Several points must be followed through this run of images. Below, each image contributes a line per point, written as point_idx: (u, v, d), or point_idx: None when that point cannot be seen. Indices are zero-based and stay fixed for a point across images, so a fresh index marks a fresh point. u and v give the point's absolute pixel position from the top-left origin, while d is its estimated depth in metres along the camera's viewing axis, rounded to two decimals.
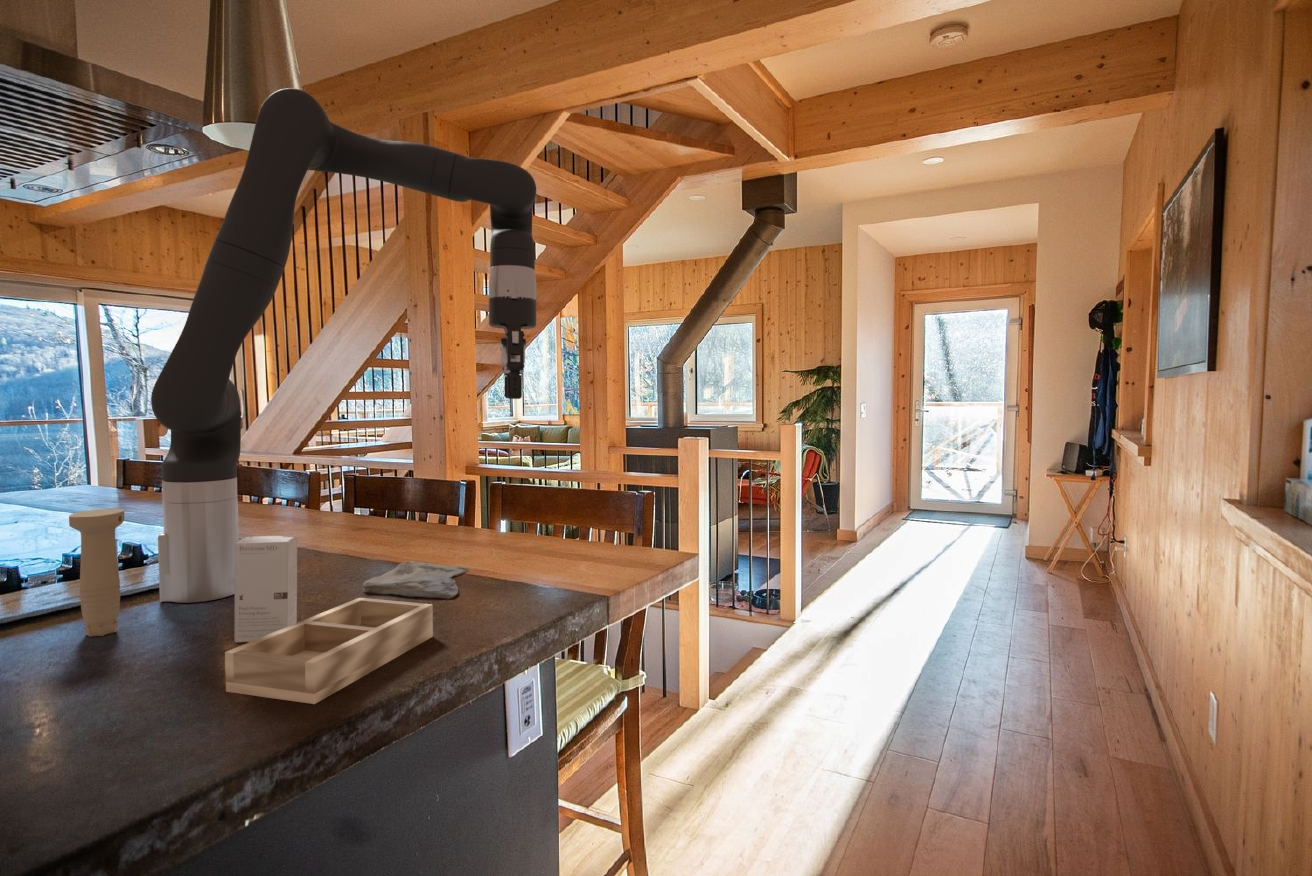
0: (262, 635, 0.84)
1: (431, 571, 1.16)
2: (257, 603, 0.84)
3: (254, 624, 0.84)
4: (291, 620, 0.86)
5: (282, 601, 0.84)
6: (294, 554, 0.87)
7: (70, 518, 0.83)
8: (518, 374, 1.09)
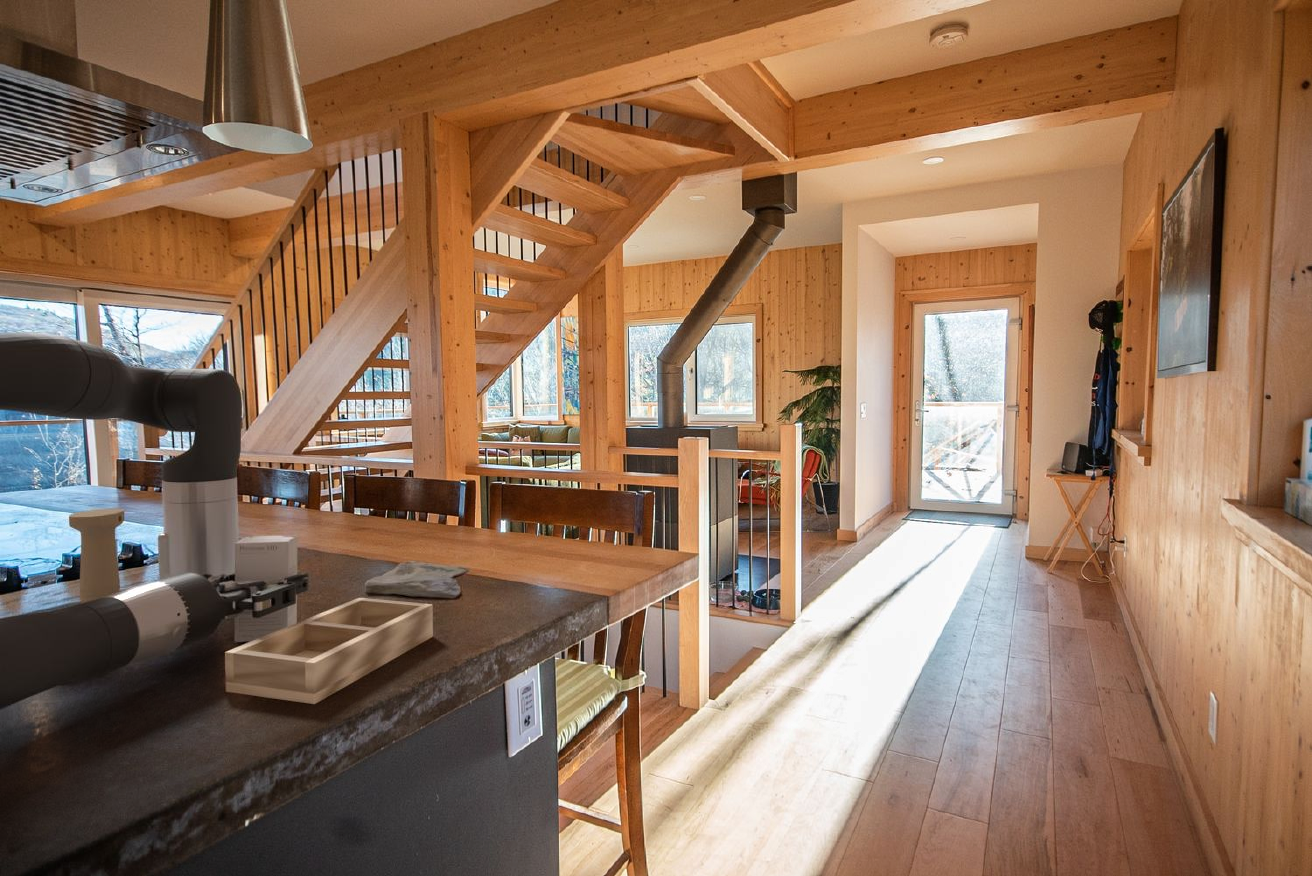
0: (262, 635, 0.84)
1: (432, 571, 1.16)
2: None
3: (254, 624, 0.84)
4: (291, 620, 0.86)
5: None
6: (294, 554, 0.87)
7: (70, 518, 0.83)
8: None
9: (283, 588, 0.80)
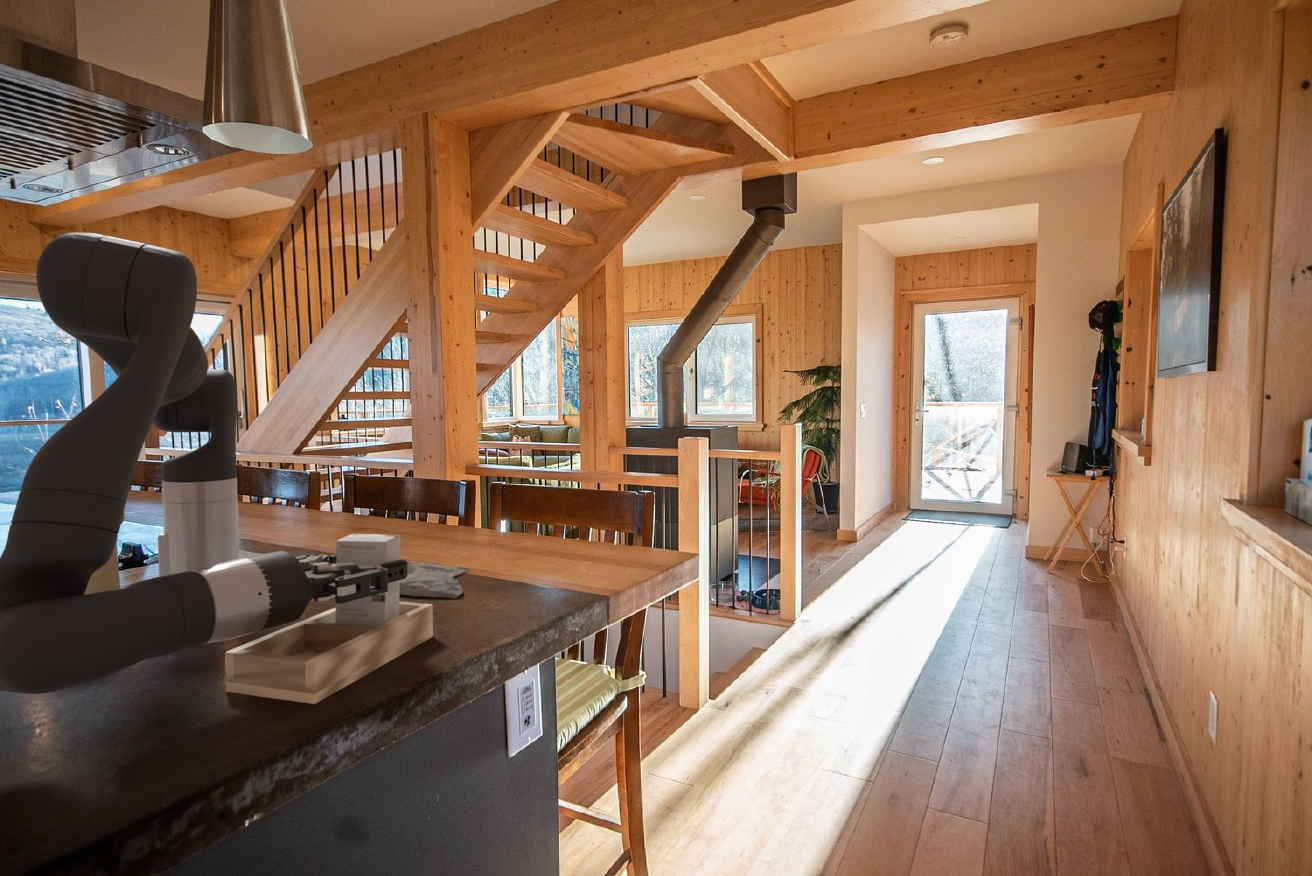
0: None
1: (432, 571, 1.16)
2: (356, 604, 0.80)
3: None
4: None
5: (380, 604, 0.80)
6: (395, 555, 0.82)
7: None
8: None
9: (371, 574, 0.75)
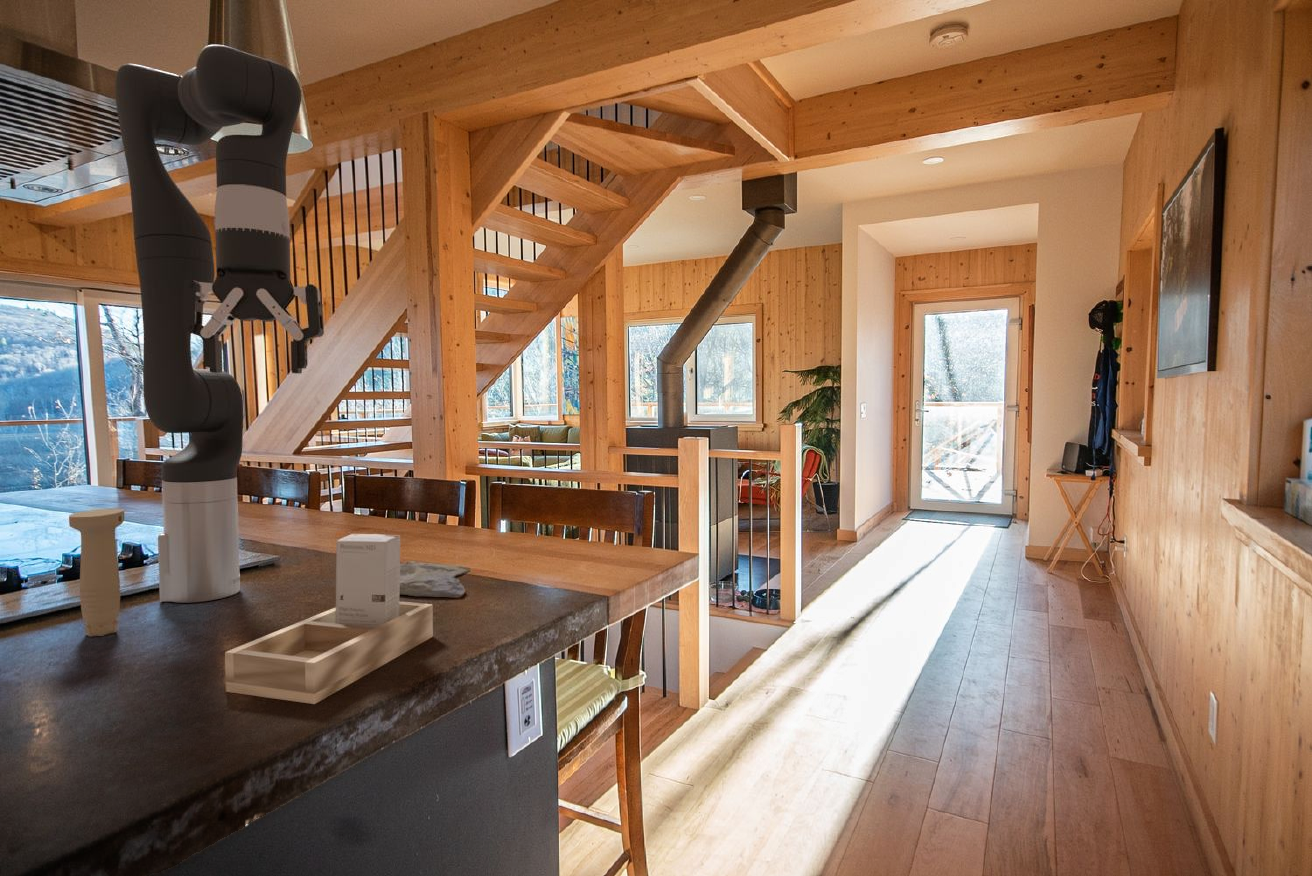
0: None
1: (433, 571, 1.16)
2: (356, 604, 0.80)
3: None
4: None
5: (380, 604, 0.80)
6: (395, 555, 0.82)
7: (70, 518, 0.83)
8: (202, 339, 0.80)
9: (322, 317, 0.85)
